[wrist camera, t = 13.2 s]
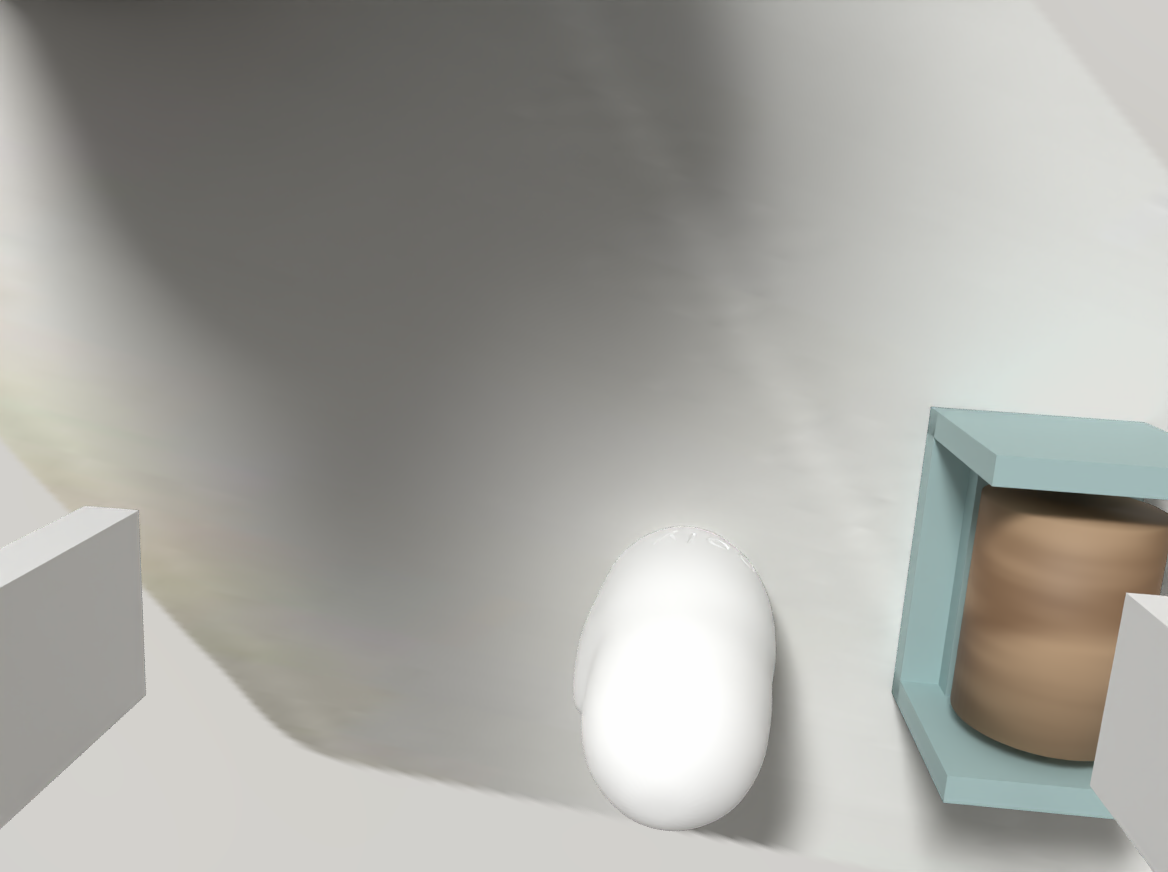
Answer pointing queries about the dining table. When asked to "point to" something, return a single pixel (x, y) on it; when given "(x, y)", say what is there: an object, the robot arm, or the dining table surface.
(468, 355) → the dining table surface
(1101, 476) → the cradle
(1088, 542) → the roll
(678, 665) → the figurine
